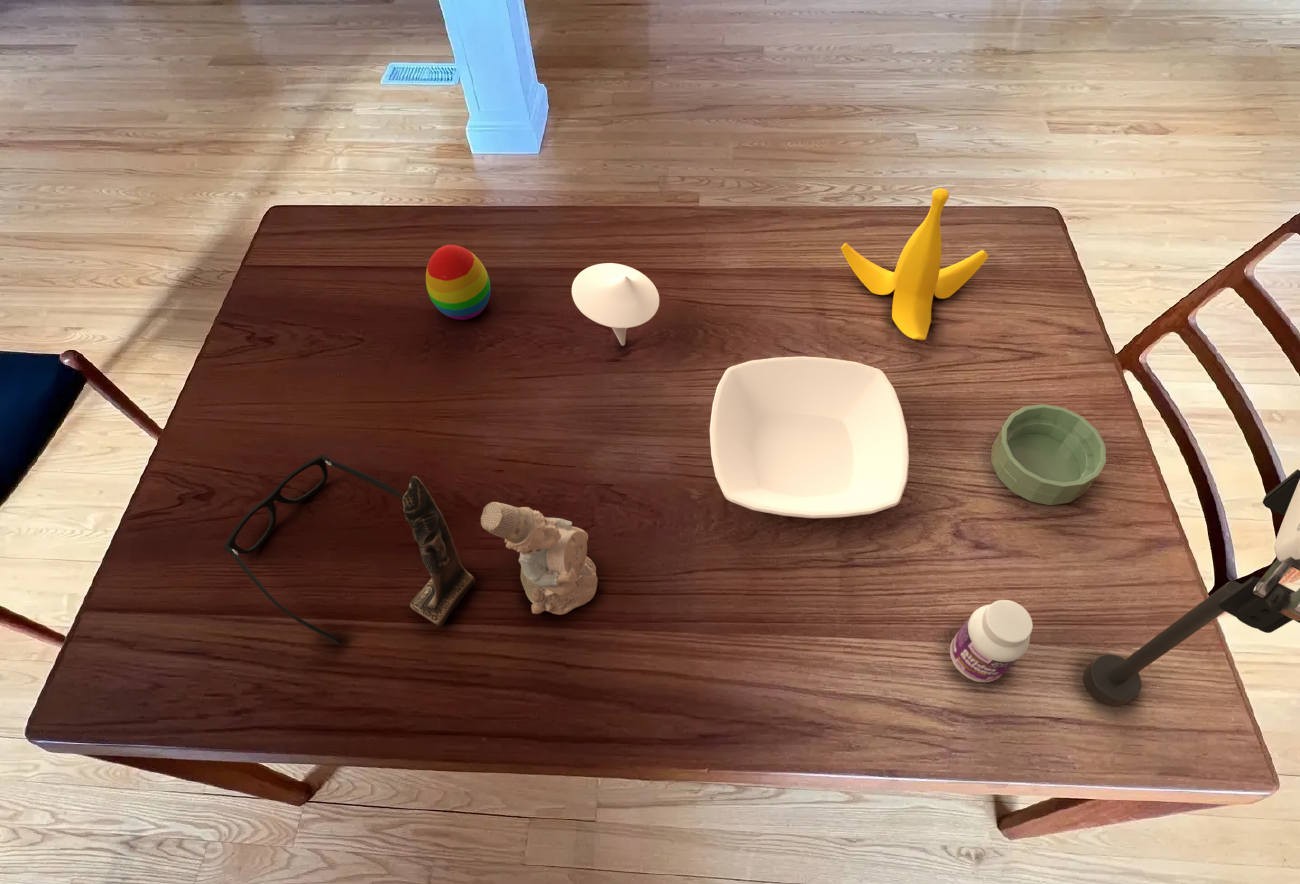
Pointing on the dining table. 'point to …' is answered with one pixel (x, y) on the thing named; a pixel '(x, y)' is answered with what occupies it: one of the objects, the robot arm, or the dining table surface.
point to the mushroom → (615, 297)
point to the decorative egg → (457, 282)
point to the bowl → (809, 438)
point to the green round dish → (1048, 454)
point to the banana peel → (917, 273)
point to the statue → (435, 556)
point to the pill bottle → (991, 640)
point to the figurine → (545, 556)
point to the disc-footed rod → (1147, 654)
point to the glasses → (269, 504)
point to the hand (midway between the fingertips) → (1265, 562)
